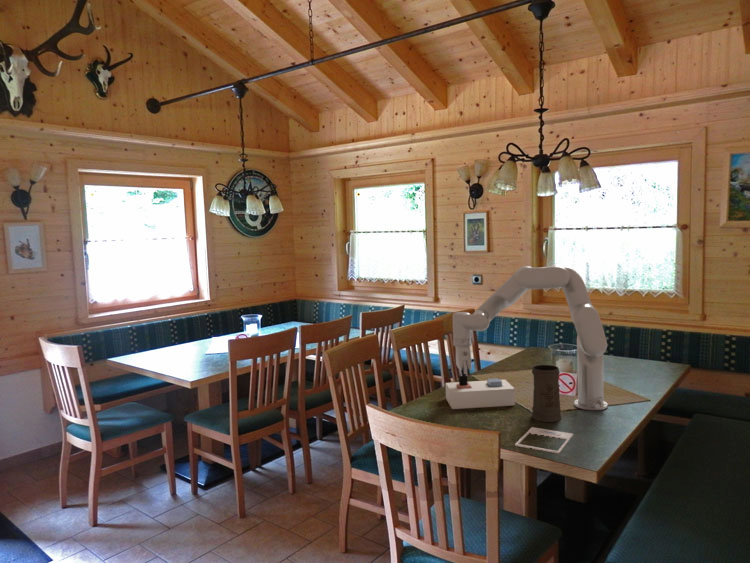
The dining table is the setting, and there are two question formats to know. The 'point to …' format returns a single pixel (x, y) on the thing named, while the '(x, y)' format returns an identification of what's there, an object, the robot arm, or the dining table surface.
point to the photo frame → (546, 433)
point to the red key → (463, 386)
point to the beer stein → (546, 393)
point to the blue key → (494, 382)
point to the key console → (480, 395)
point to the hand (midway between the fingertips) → (463, 384)
